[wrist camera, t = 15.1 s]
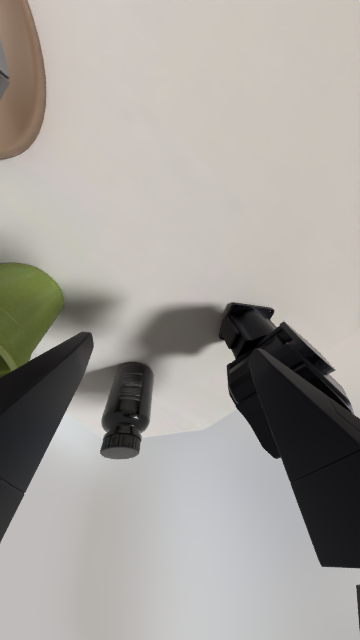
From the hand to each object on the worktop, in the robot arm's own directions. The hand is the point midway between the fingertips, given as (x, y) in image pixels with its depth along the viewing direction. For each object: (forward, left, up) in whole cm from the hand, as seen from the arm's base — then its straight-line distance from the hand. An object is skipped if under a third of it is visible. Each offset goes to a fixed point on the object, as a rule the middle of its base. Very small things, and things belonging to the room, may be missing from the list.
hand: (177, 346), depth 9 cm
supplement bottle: (+4, +20, -13) cm, 24 cm away
